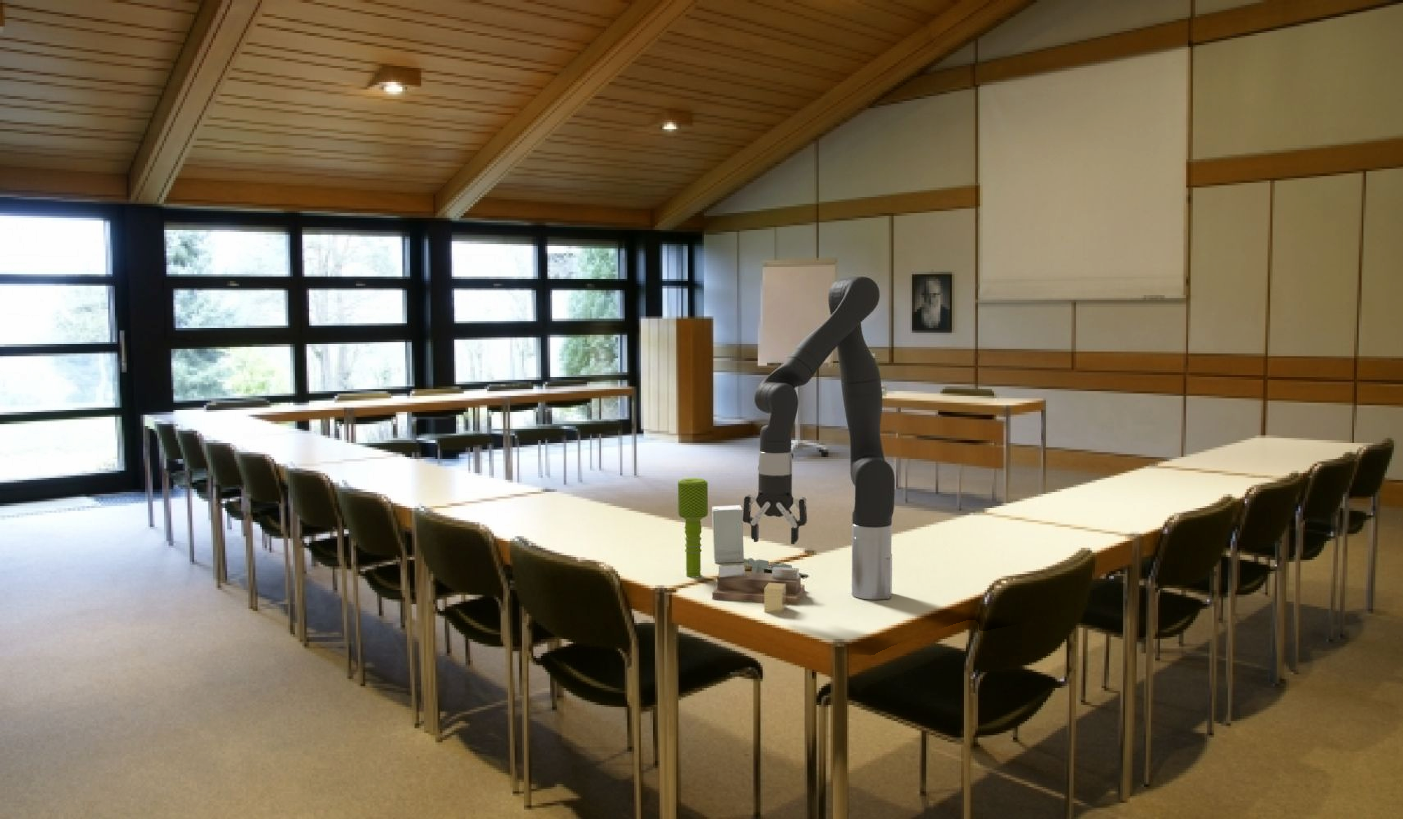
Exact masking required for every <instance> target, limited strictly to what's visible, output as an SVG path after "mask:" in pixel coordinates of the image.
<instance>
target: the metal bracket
mask: <svg viewBox="0 0 1403 819" xmlns="http://www.w3.org/2000/svg"><path fill="white" fill-rule="evenodd" d="M741 565H744V566H748V567H751V572H755V573H765V570H768V571H769V570H770V571H772V569H773V567H784V568H793V566H792V565H791V564H788V563H779V564H778V563H776V562H774V561H772V562H771V564H770V561H769V560H767V559H766V560H764V559H760V558H759V559H754V558H753V557H748V559H747V564H746V563H741ZM799 575H801V576H807V577H809V574H807V573H806V574H805V573H801V572H799Z"/></svg>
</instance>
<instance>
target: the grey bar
mask: <svg viewBox="0 0 1403 819" xmlns="http://www.w3.org/2000/svg"><path fill="white" fill-rule="evenodd" d="M745 572H746V567H745V565H742V564H740V565H737V564H736V565H719V566H718V576H720V577H745ZM799 573H800V568H798V567H792V568H791V567H790V568H784V567H773V569H772V570H771V574H772V578H776V579H792V580H798V578H799Z"/></svg>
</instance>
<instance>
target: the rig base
mask: <svg viewBox="0 0 1403 819" xmlns="http://www.w3.org/2000/svg"><path fill="white" fill-rule="evenodd" d="M801 578H802V575H799V578H798V580H792V579H776V578H772V572H771V573H768V572H764V573H755V572H752V571H749V572H748V571H745V577H720V576H719V575H717V577H716V588H715V589H714V590H713V591H712V593H711V596H712V597H711V598H712V600H723V601H724V600H725V601H737V602H738V601H739V602H740V601H742V602H753V603H755V602H756V603H764V588H765V587H766V586H767V584H768V583H781V584H786V605H797V604H798V602H800V599H801V598H802V597H803V595H804V592H805V590H806V589H805V584H802V582H801Z"/></svg>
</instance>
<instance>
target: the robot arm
mask: <svg viewBox="0 0 1403 819" xmlns="http://www.w3.org/2000/svg"><path fill="white" fill-rule="evenodd" d="M880 297H881V296H880V288H879V286H878V284H877V282H875V281H874V280H873V279H872V278H870V277H867V276H852V277H847V278H840V279H838V280H835V281H834V282H833V283H832V284H831V286H830V288H829V291H828V297H827V298H828V300H827V301H828V308H829V312H830V316H829V317H828V318H827V319H826V320H825V321H824V322H823V323H821V324H820V325H819V326H818V327H816V328H815V329H814V330H813V331H811V332H810V333H809V334H808V335H806V337H804V338H803V339H802V340H801V341H800V342H799V343H798V344H797V346H796V347H795V348H794V350H792V352H791V353H790V354H789V356H788V357H787V358H786V360H785V361H784V362H783V363H782V364H781V365H780V366H779V367H777V368H776V369H775V370H773V371H772V372H771V373H770V374H769V375H768V376H767V377H765V378H764V379H763V380H762V382H760V383H759V385H758V386H757V388H756V390H755V393H754V404H755V407H756V408H757V409H758V410H759V411H761V412H763V413H766V414H770V417H769V421H768V424H766V425H764V426H762V427H761V429H760V434H759V457H758V466H757V471H758V482H757V483H758V486H757V488H758V490H757V491H758V492H757V496H754V495H751V494H747V495H746V496H745V497H744V498H743V508H742V510H743V512H742V514H743V523H747V524H749V525H750V537H751V538H750V539H751V540H753V543H758V542H759V538H760V537H759V533H760V530H759V529H760V527H759V526H760V524H759V522H760V521H761V519H762V517H764V515H765V516H767V517H777V518H782V517H784V518H785V520H786V521H787V522H788V523H789V524H790V526H791V529H790V545H795V544H796V543H797V542H798V541H799V537H800V536H799V531H800V530H799V528H800V527H802V526H805V525H806V524H807V522H808V514H807V513H808V512H807V510H808V509H807V499H806V497H801V498H794V497H793V457H792V432H793V429H794V426H795V422H796V418H797V413H798V410H799V396H798V393H797V390H796V389H795V388H797V387H798V388H799V387H801V386H805V385H807V384H808V383H809V382H810V380H811V379H812V378H813V377H814V375H815V374H816V373H817V371H819V369H820V368H821V367H822V366H823V364H824V362H825V361H826V360H828V357H829V356H830V355H831V354H832V352H834V350H836V348H837V356H838V363H839V364H838V365H839V371H840V373H839V374H840V386H841V392H842V393H841V394H842V400H843V401H842V402H843V406H844V414H845V418H846V425H847V429H848V434H849V449H850V454H849V455H850V459H849V460H850V469H849V470H850V479H851V482H852V484H853V486H854V492H855V493H854V508H853V511H852V515H851V517H852V518H851V520H852V522H851V525H852V526H851V595H852V596H854V597H855V598H859V599H863V600H874V601H877V600H884V599H885V600H890V599H891V597H892V593H893V554H892V532H893V530H892V527H893V525H892V524H893V523H892V522H893V521H892V520H893V515H894V511H895V493H896V492H895V490H896V480H895V472H894V469H893V467H892V465H890V464H889V463H888V461H886V459H885V455H884V452H883V446H882V440H881V438H882V437H881V423H882V422H881V421H882V412H883V390H882V380H881V373H880V369H879V366H878V364H877V361H876V360H875V358H874V356H873V354H872V353H871V350H870V349H869V347H868V345H867V343H866V340H865V339H864V338H865V337H864V335H863V329H862V322H864V320H865V319H866V318H868V317H869V316H870V315H871V314H872V313H873V312H874V310H875V309H876V308H877V306H878V304H879V303H880V302H879V301H880ZM755 503H756V504H757V505H758V507H759V508H760V509H759V511H758V512H757V513H756V514H755V515H754V517H752V516H751V513H752V512H751V511H752V506H753V505H755ZM793 505H795V507H796V508H797V509H798V513H799V520H798V518H796V516H795V514H794V512H793V511H792V510H791V507H792V506H793Z"/></svg>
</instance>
